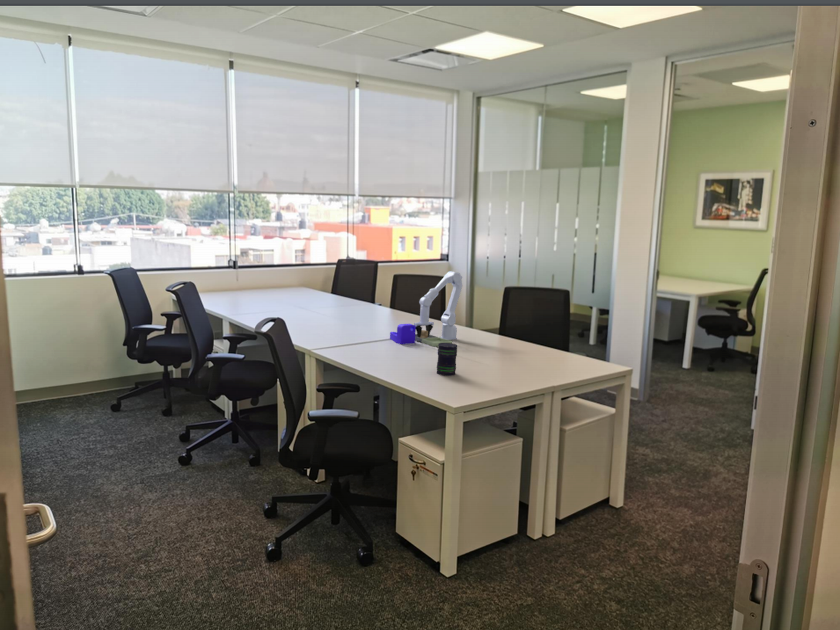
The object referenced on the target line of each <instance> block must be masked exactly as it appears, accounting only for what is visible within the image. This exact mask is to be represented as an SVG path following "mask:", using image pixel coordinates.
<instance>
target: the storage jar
mask: <svg viewBox="0 0 840 630" xmlns="http://www.w3.org/2000/svg"><path fill="white" fill-rule="evenodd" d="M438 346H439V347H437V355H438V356H437V362H436V374H437V375H438V376H439V375H440V376H443V377H445V376H447V377H451V376H455V375H456V370H457V357H458V356H457V355H458V345H457V344H456V343H453V342H452V343H439V344H438Z"/></svg>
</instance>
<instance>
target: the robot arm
mask: <svg viewBox="0 0 840 630" xmlns="http://www.w3.org/2000/svg"><path fill="white" fill-rule="evenodd" d="M462 279H463V276H462V275H461V273H460V272H457V271H453V270H449V271H447V272H446V273H445V274H444V275H443V278H441V280H440V281H439V282H438V283H437V285H436V286H435V287H432V288H430V289H429V290H428V292H427V293H426V294H424V296H422V297H421V298H420V299H419V301H418V303H419V305H420V309H419V310H420V311H419V312H420V313H419V321H418V322H414V323H413V325H415V326H416V334H417V336H418V337H421V330H423V327H425V330H426V331H428V337H429V334H430V335H431V331H432V330H433V328H434V325H435V323H434V322H435V321H430V307H431V306H432V302H433V301H434V300H435V299H436V297H438V296H439V294H440V293H439V292H440V291H441V290H442V289H443V288H444V287H445V286H447V285H448V284H451V285H452V290H451V294H450V297H449V300H448V304H447V307H446V310H445V311H444V312H443V314H442V315H441V317H440V321H441V323H442V325H441V336H439V337H440V338H443V339H446V340H450V341H453V340H458V338H457V333H458V332H457V331H458V329H457V326H456V325H455V324H456V320H457V319H456V316H457V315H456V309H457V305H458V302H459V299H460V296H461V292H462V288H463V280H462Z"/></svg>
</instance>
